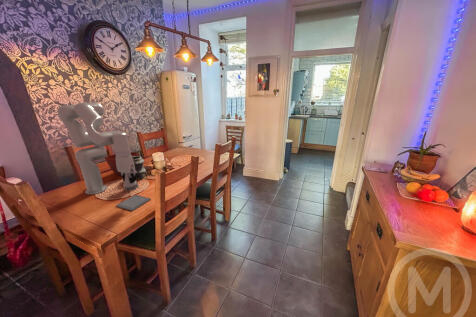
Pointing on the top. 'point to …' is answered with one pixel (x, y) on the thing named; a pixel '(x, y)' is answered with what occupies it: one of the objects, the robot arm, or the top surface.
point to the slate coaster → (133, 202)
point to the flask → (128, 181)
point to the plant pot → (112, 162)
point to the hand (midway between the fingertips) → (129, 181)
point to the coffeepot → (133, 186)
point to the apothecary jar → (139, 167)
